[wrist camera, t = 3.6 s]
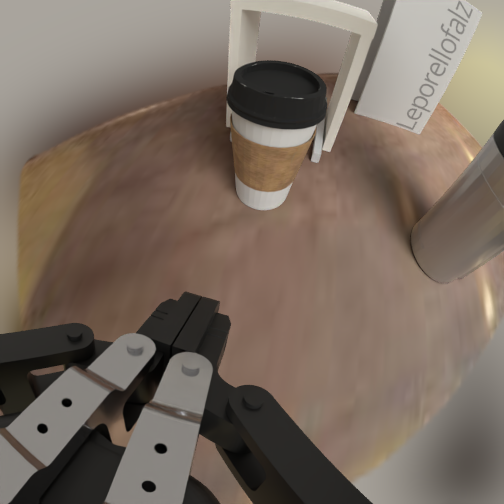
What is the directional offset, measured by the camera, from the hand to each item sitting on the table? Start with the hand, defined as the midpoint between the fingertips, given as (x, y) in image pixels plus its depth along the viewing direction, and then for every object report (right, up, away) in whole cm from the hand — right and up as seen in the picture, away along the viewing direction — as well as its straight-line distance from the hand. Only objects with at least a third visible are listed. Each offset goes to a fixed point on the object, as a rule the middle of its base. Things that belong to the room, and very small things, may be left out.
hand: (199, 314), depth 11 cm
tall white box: (+27, +28, +31) cm, 50 cm away
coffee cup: (+3, +10, +20) cm, 23 cm away
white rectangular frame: (+7, +21, +26) cm, 34 cm away
